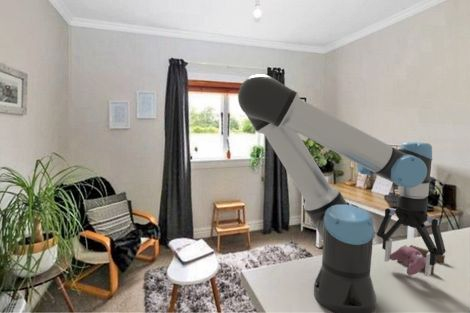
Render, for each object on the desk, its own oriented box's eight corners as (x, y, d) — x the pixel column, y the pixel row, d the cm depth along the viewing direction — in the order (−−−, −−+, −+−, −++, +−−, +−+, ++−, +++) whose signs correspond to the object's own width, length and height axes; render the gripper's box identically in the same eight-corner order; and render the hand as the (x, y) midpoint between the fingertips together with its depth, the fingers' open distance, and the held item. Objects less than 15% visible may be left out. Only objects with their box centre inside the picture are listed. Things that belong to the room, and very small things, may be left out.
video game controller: (420, 281, 81) (433, 260, 80) (407, 274, 80) (419, 253, 79) (399, 263, 90) (410, 244, 90) (387, 257, 90) (398, 238, 89)
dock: (432, 274, 86) (433, 266, 86) (397, 261, 94) (397, 254, 93) (444, 262, 94) (444, 255, 93) (410, 251, 101) (411, 244, 101)
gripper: (465, 201, 76) (456, 278, 79) (378, 186, 93) (374, 250, 96) (457, 206, 71) (449, 288, 74) (367, 189, 89) (363, 256, 91)
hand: (406, 266), depth 85 cm, fingers closed on video game controller, 10 cm apart
